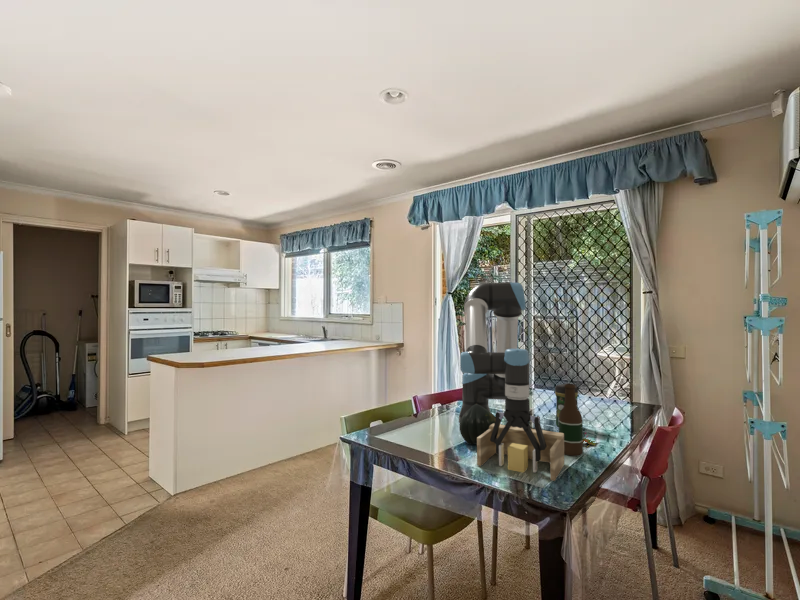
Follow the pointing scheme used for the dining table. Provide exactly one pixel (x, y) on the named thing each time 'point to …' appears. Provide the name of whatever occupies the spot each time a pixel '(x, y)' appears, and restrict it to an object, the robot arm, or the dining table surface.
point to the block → (518, 457)
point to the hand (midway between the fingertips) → (517, 467)
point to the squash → (475, 423)
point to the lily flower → (588, 440)
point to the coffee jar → (562, 399)
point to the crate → (519, 436)
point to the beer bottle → (571, 423)
